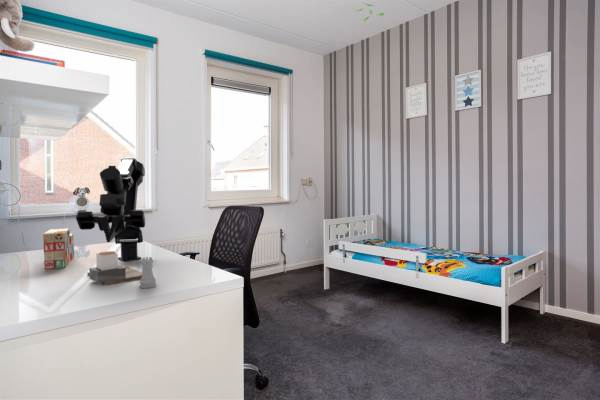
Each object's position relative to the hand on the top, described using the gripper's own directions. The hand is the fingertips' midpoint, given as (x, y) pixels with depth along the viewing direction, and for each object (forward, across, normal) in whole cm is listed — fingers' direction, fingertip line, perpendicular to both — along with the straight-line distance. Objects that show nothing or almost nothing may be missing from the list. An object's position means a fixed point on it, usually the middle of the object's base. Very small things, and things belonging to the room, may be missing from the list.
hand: (108, 241), depth 113 cm
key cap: (+7, 0, +4) cm, 8 cm away
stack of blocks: (-15, -23, +31) cm, 41 cm away
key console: (+6, +1, +10) cm, 12 cm away
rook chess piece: (+16, +12, +1) cm, 20 cm away
